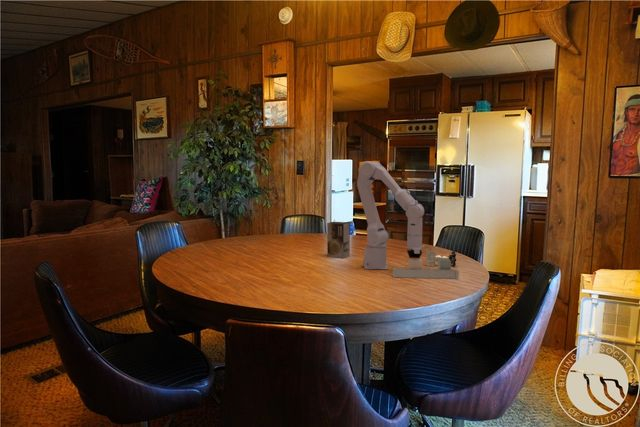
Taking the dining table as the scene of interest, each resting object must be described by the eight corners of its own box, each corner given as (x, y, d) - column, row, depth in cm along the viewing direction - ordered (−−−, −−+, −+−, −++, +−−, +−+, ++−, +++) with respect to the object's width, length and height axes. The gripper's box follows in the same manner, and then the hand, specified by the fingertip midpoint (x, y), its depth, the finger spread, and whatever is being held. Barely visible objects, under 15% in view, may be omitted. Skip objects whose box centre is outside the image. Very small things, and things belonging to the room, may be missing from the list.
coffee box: (350, 256, 201) (350, 222, 199) (343, 258, 195) (343, 223, 194) (333, 254, 206) (333, 221, 204) (326, 256, 200) (326, 222, 199)
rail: (393, 277, 160) (393, 262, 160) (391, 272, 169) (391, 257, 168) (458, 279, 158) (459, 263, 158) (453, 273, 167) (453, 258, 166)
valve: (426, 267, 178) (456, 268, 177) (427, 251, 178) (456, 252, 177) (424, 263, 185) (452, 264, 184) (424, 248, 184) (453, 249, 183)
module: (411, 276, 161) (411, 260, 161) (408, 272, 168) (409, 257, 168) (423, 277, 161) (423, 261, 161) (420, 272, 168) (420, 257, 167)
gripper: (428, 237, 161) (427, 272, 162) (422, 232, 175) (421, 264, 176) (409, 237, 161) (408, 272, 163) (404, 231, 176) (404, 264, 177)
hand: (413, 268), depth 170 cm, fingers closed
